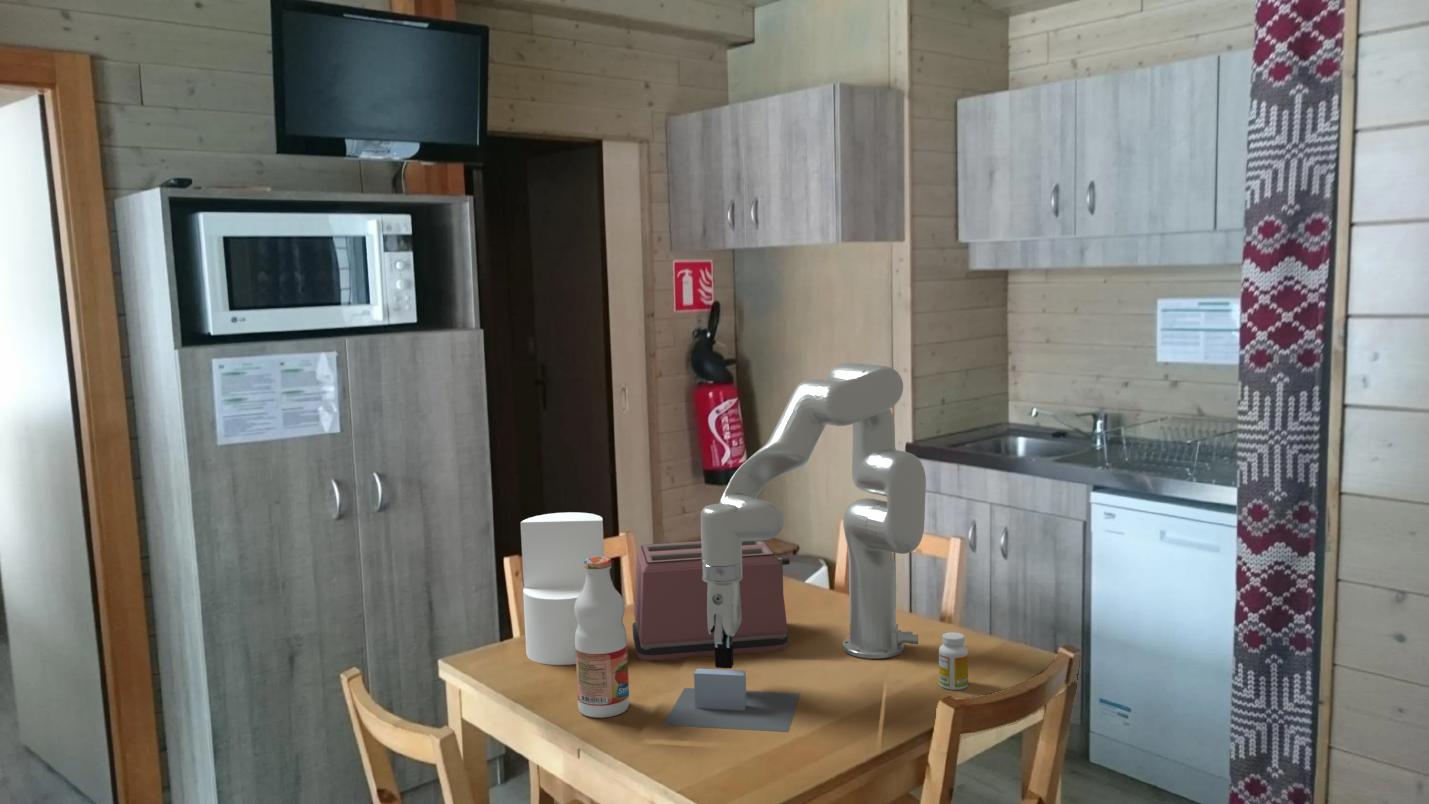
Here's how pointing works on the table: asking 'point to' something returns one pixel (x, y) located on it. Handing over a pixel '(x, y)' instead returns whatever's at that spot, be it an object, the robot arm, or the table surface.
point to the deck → (720, 689)
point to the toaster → (704, 602)
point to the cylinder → (556, 580)
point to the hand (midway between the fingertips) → (724, 666)
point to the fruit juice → (601, 644)
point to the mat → (737, 712)
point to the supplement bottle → (953, 662)
